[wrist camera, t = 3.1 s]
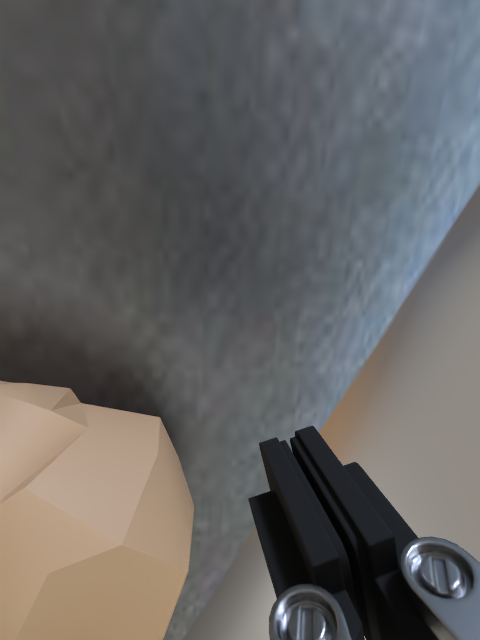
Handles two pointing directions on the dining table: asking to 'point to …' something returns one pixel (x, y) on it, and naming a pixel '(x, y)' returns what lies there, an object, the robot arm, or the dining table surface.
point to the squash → (88, 519)
